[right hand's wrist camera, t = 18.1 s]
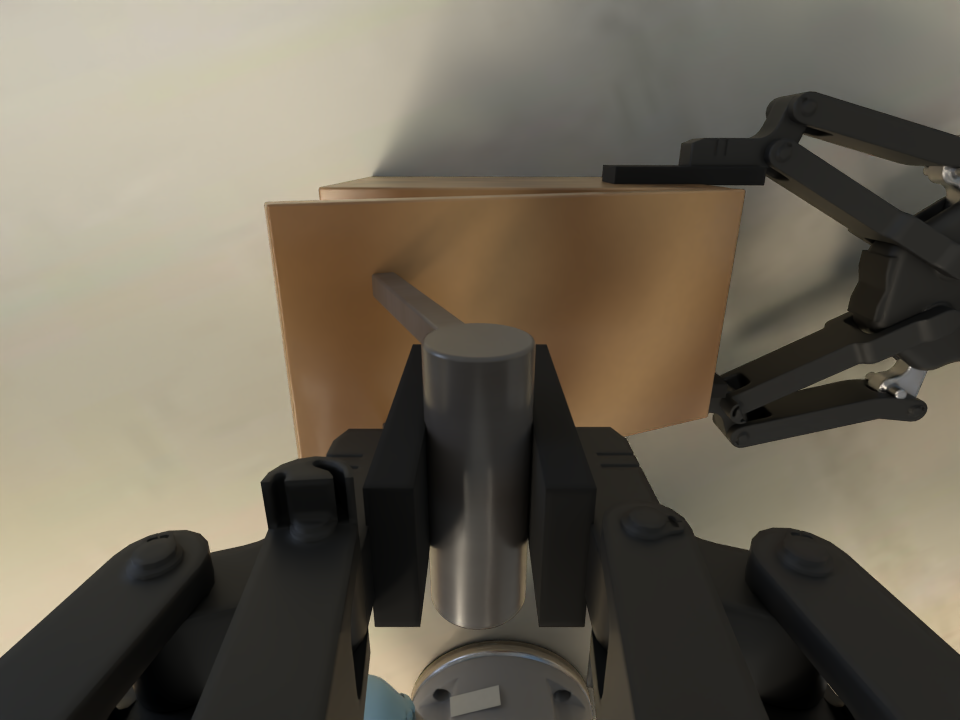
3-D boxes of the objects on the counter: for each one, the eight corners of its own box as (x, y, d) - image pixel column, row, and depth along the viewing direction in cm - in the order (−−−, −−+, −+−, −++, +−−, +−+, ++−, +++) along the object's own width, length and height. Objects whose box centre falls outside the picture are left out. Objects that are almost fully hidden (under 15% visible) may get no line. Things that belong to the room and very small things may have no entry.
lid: (303, 497, 18) (358, 750, 10) (263, 201, 15) (301, 255, 7) (692, 409, 24) (906, 526, 17) (727, 188, 21) (1015, 208, 13)
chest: (381, 334, 34) (340, 407, 24) (370, 176, 31) (317, 187, 21) (634, 334, 34) (696, 408, 24) (651, 177, 31) (731, 187, 21)
